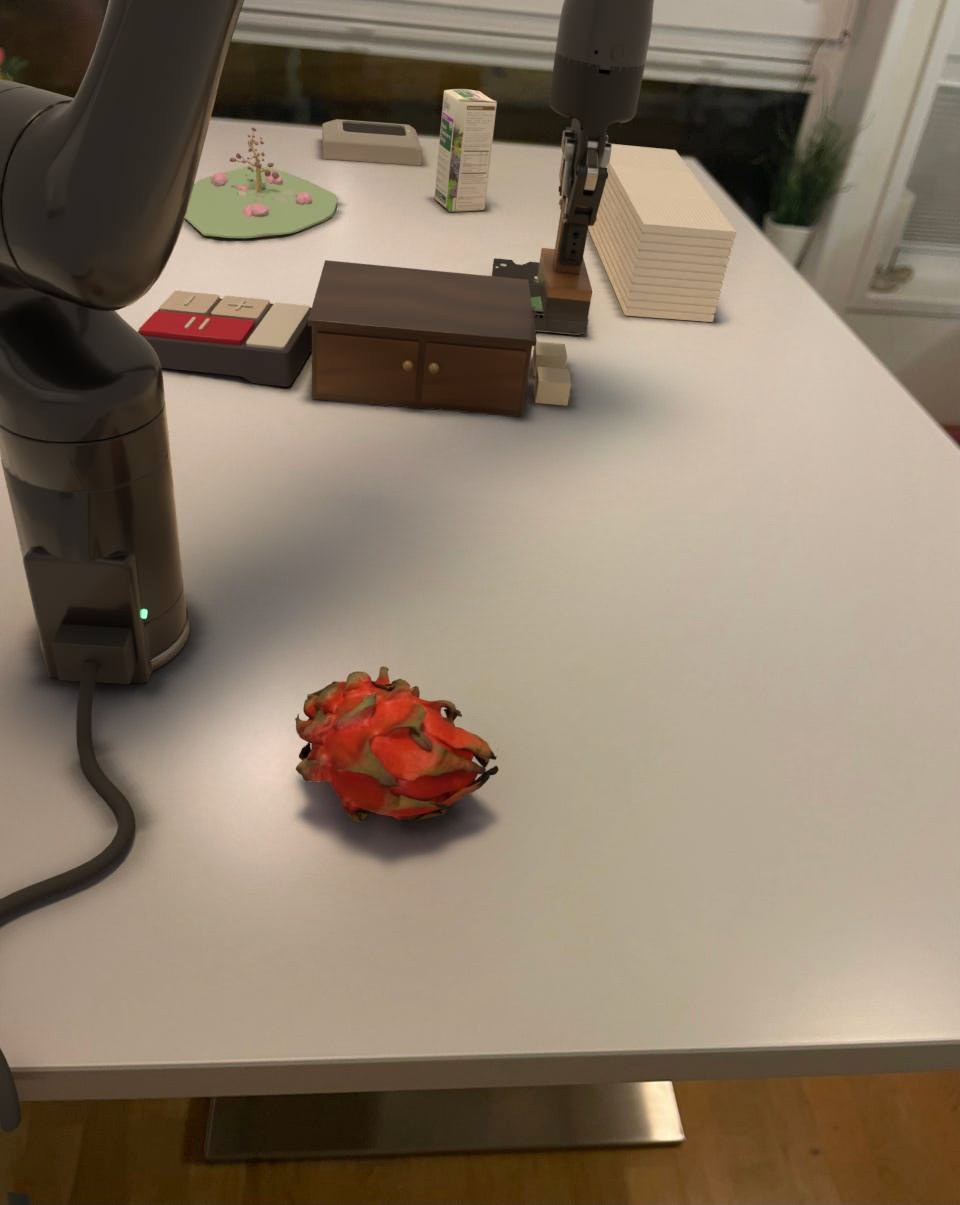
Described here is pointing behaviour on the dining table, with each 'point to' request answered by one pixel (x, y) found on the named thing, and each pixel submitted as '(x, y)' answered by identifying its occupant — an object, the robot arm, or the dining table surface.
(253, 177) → the plant
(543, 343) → the wooden block
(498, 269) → the disk drive
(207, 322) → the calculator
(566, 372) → the wooden block
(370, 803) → the dragon fruit
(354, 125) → the beige low box
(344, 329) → the cabinet
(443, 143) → the syrup box
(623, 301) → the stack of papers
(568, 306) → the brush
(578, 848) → the dining table surface
